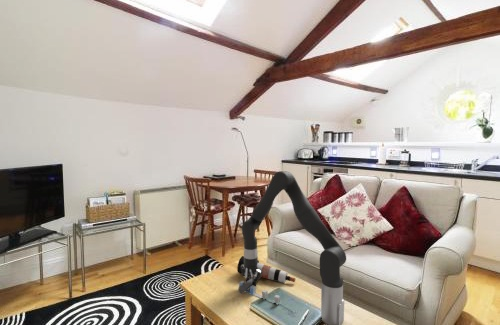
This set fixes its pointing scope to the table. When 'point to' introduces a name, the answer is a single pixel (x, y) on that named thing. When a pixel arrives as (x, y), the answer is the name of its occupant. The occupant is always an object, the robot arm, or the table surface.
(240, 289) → the gray elongated ellipsoid
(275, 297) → the blue grey peg rack
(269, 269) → the cable
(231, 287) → the table surface
